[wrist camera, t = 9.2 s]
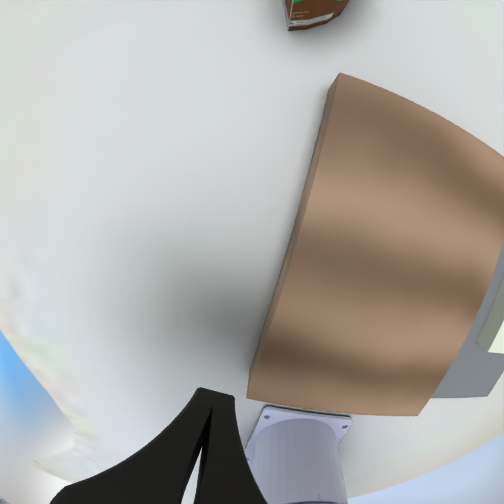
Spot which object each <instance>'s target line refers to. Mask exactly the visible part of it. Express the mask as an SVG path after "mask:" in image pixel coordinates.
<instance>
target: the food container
mask: <svg viewBox="0 0 504 504" xmlns="http://www.w3.org/2000/svg"><path fill="white" fill-rule="evenodd" d="M348 2H349V0H283V5H284V11H285V16H286V21H287V27H288V31H293V30H305V29H309V28H312V27H316V26H319V25H323V24H326V23H328V22H329V21H331V20H332V19H334V18H335V17H337V16H339V15H340V14H341V12H342V11H343V9H344V8H345V6H346V5H347V3H348Z"/></svg>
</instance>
